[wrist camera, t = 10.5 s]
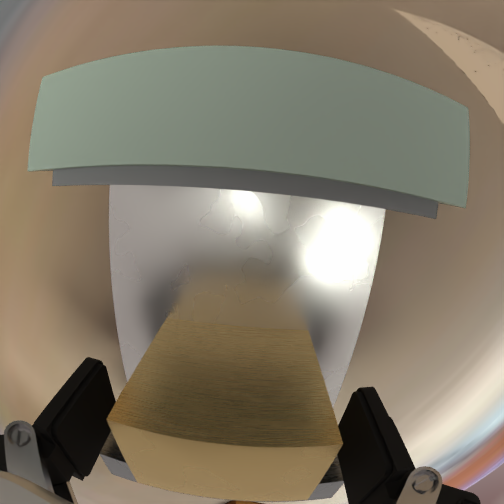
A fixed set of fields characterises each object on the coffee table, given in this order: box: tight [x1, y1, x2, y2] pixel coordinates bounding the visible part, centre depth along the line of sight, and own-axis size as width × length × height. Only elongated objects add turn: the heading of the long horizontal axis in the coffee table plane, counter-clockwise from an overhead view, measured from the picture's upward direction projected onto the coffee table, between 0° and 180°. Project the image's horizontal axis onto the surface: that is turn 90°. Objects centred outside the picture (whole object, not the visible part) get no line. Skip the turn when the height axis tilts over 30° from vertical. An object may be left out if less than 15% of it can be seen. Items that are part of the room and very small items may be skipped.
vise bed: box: [100, 185, 386, 502], centre depth 9 cm, size 16×11×6 cm
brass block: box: [106, 318, 343, 501], centre depth 9 cm, size 4×6×6 cm, turn 85°
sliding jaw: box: [28, 46, 470, 219], centre depth 7 cm, size 3×10×5 cm, turn 85°
